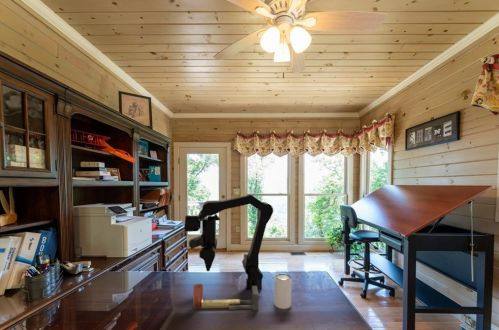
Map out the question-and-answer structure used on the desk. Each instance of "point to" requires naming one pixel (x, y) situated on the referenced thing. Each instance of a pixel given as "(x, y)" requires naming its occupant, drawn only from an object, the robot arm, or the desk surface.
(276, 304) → the can
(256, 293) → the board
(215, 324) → the desk surface
